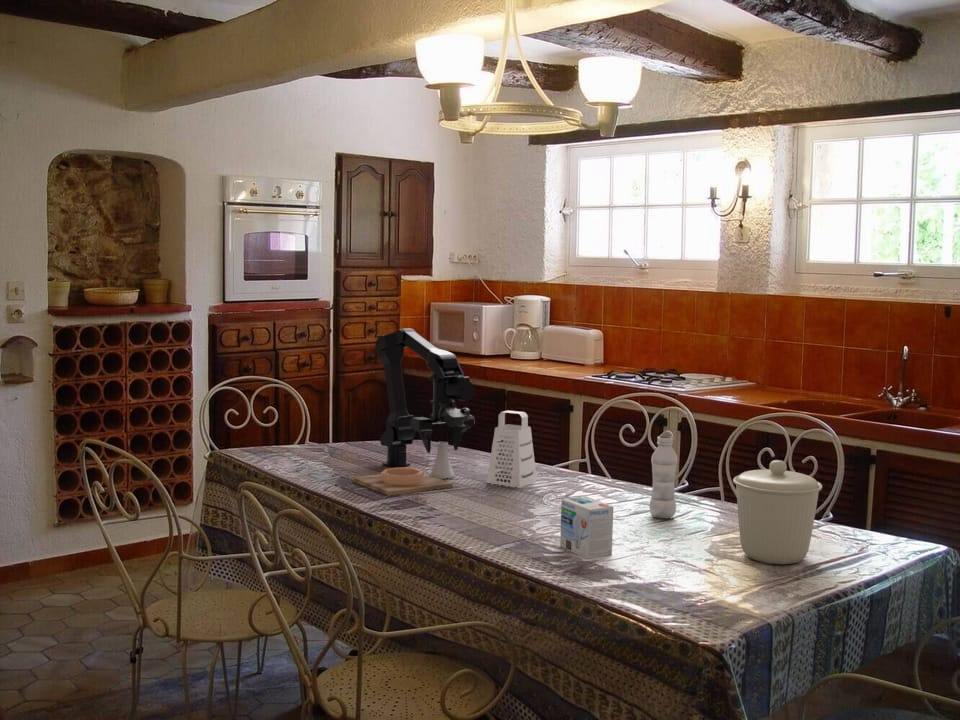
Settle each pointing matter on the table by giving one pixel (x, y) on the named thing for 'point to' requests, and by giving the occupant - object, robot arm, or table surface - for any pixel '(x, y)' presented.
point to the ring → (402, 476)
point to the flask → (442, 463)
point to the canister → (776, 513)
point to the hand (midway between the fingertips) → (442, 451)
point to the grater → (512, 453)
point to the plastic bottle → (663, 479)
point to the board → (394, 489)
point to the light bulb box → (586, 527)
